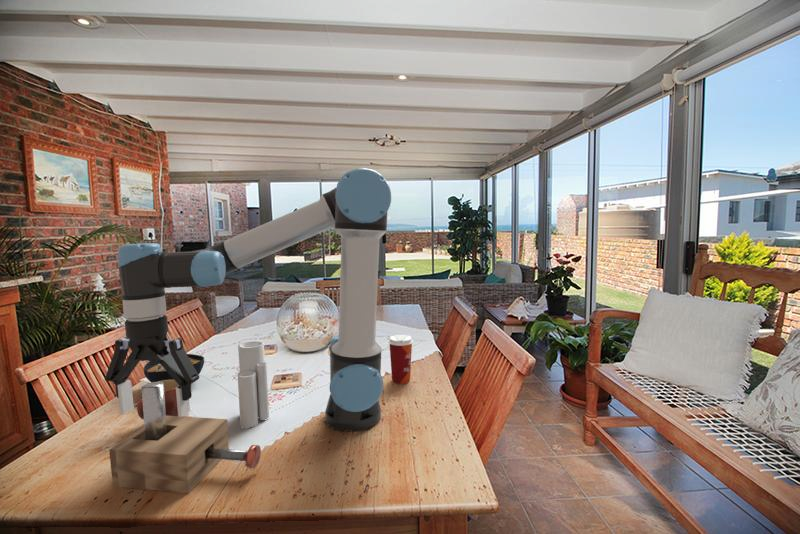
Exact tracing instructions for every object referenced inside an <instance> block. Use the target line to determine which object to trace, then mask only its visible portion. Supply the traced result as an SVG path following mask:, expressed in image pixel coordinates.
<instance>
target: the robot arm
mask: <svg viewBox="0 0 800 534" xmlns="http://www.w3.org/2000/svg"><path fill="white" fill-rule="evenodd" d="M338 180H339V181H337V184H336V187H334V188H333V189H331V190H330V191H328V192H325V193H323V194H321V195H320V197H319V199H318V200H317V201H314V202H312V203H310V204H307V205H305V206H303V207H300V208H299V209H296V210H294V211H290V212H289V213H286V214H284V215H282V216H279V217H277V218H274V219H272V220H270V221H268V222H265V223H263V224H261V225H258V226H256V227H254V228H252V229H248V230H247V231H244V232H242V233H239V234H238V235H235V236H233V237H230V238H228V239H226V240H223V241H221V242H219V243H216V244H213V245H211V246H209V247H206V248H204V249H203V248H202V249H197V250H192V251H176V252H167V251H163V249H162V247H161V245H160V243H157V242H155V243H153V242H152V243H149V242H148V243H143V242H142V243H126V244H122V245H120V246H119V247H118V250H117V257H118V259H117V260H118V261H117V262H118V265H117V268H118V273H119V279H120V280H119V281H120V288H121V299H122V309H123V318H125V321H124V330H125V337H122V338H119V339H117V340H115V342H114V352H113V354H112V357H111V359H110V360H111V361H110V363H109V366H108V368H107V371H106V374H105V377H104V380H105V381H106V382H108V383H109V382H112V383H113V385H114V386H115V387H114V388H115V395H116V397H117V399H118V403H119V411H120V412H119V413H120V415H125V414H127V413H129V412H130V411H132V410H133V409H135V407H134V398H133V396H134V395H133V387H132V380H129V379H130V375H132V372H133V371H134V370H135V368H136V367H137V366H138V364H139V363H140V362H145V361H148V362H150V361H156V362H157V363H158V364H161V365H162V366H163V367H164V369H165V370H166V371H167V372H168V373H169V374H170V375H171V377H172V378H173V379H174V380H175V381H176V382H177V383H178V385H179V386H177V387H176V397H177V408H178V417H185V415H186V414H189V413H190V412H191V405H190V399H192V395H193V394H192V384H193V383H195V382H196V381H198V380H199V379H200V374H199V375H198V373H197V371H196V369H195V368H194V366H193V364H192V362H191V360H190V359H189V357H188V355H187V354H188V353H187V351H186V350H185V348H184V342H183V339H182V338H181V337H177V338H174V339H169V338H168V336H167V335H168V332H169V322H168V316H167V315H166V313H167V300H166V290H165V289H171V288H191V287H193V288H194V287H195V288H197V287H203V288H206V287H215V286H220V285H221V284H223V283H224V281H225V279H226V275H227V274H229V273H232V272H235V271H237V270H238V269H240V268H242V267H244V266H245V267H246V266H248V265H249V264H252V263H254V262H257V261H259V260H260V259H263V258H265V257H269V256H270V255H272V254H275V253H277V252H279V251H282V250H284V249H286V248H288V247H289V248H290V247H291V246H294V245H296V244H298V243H300V242H302V241H305V240H307V239H309V238H312V237H314V236H317V235H319V234H321V233H323V232H326V231H328V230H331V229H334V230H335V231H336V233H337V234H338V235H339V236H340V238H341V247H340V248H341V249H340V251H341V252H340V272H339V273H340V275H339V276H340V277H339V279H340V280H339V303H338V304H339V307H338V308H339V309H338V311H339V312H338V335H335V336H333V337H331V338H330V339H329V347H328V348H329V367H330V368H329V370H330V371H329V372H330V382H329V392H330V394H329V398H328V401H327V403H326V407H325V411H324V413H325V414H324V417H325V418H324V419H325V423H326V424H327V426H329V427H330V428H331V429H334V430H336V431H343V432H355V431H362V430H366V429H369V428H371V427H373V426H374V425H376V424H378V422H379V421H380V419H381V417H382V412H381V411H382V408H381V404H380V401H379V400H380V398H381V396H382V395H383V391H384V390H383V389H384V381H383V377H382V373H381V371H382V370H381V369H382V368H381V367H382V347H381V346H380V345H379V343H378V342H377V341H376V336H377V335H376V333H377V310H378V309H377V308H378V306H377V305H378V287H379V286H378V284H379V259H380V240H381V238H382V237H383V236H384V235H385V234H386V233H387V230H388V229H387V227H388V211H389V210H390V207H391V203H392V189H391V187H390V184H389V183H388V181H387V179H386V178H385V177H384V176H383V175H382V174H381V173H380V172H378V171H376V170H374V169H371V168H366V167H359V168H355V169H352V170H349V171H347V172H345V173H344V174H343V175H342V176H341V178H340V179H338ZM129 350H130V351H131V352H130V354H129ZM128 354H129V355H128ZM127 356H128V357H127ZM162 356H163V357H162ZM183 379H184V380H183Z"/></svg>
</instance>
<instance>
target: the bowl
mask: <svg viewBox="0 0 800 534" xmlns="http://www.w3.org/2000/svg"><path fill="white" fill-rule="evenodd" d="M187 355H188V357H189V359H190V360H191V362H192V364H193V366H194V368H195V369H196V371H197V373H198V375H199V376H200V373H201V371H202V370H203V367H204V365H205V364H204V363H205V357H204V356H202V355H199V354H193V353H192V354H191V353H187ZM163 356H164V355H163ZM163 356H162V357H163ZM143 375H144V377H146V379H147V381H149V383H151V382H158V381H163V380H174V379H173V378H172V377H171V375H170V374H169V373H168V372H167V371H166V370H165V369H164V367H163V366H162V365H161V364H158V363H157V362H156V361H148V362H147V363H146V364H145V365H144V367H143ZM183 380H184V379H183Z"/></svg>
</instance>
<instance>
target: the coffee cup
mask: <svg viewBox="0 0 800 534" xmlns="http://www.w3.org/2000/svg"><path fill="white" fill-rule="evenodd" d="M413 343H414V340H413V338H412V336H410V335H407V334H395V335H392V336H390V337H389V339H388V344H389V355H390V367H391V380H392V383H394V384H395V385H406V384H409V383H410V382H411V381H410V380H411V367H412V366H411V365H412V352H413V349H412V347H413Z"/></svg>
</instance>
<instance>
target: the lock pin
mask: <svg viewBox="0 0 800 534" xmlns="http://www.w3.org/2000/svg"><path fill="white" fill-rule="evenodd" d="M261 452H262V450H261V446H260V445H259V444H251V445H250V446H249V448H248V450H242V449H230V448H229V449H216V448H207V449H206V450H205V458H209V459H222V460H221V461H223V460H226V461H240V462H245V465H246V468H247V469H256V467H257V466H258V464H259V462H260V459H261V454H262V453H261Z"/></svg>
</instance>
